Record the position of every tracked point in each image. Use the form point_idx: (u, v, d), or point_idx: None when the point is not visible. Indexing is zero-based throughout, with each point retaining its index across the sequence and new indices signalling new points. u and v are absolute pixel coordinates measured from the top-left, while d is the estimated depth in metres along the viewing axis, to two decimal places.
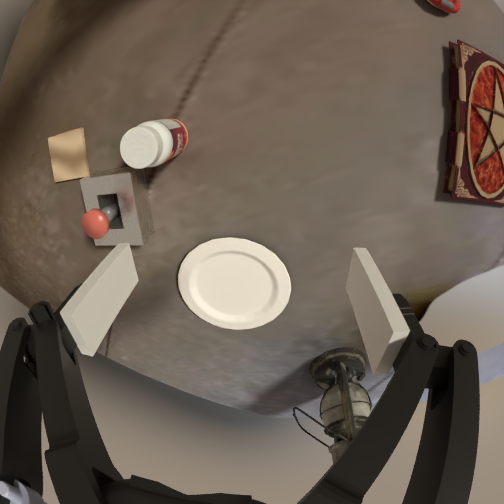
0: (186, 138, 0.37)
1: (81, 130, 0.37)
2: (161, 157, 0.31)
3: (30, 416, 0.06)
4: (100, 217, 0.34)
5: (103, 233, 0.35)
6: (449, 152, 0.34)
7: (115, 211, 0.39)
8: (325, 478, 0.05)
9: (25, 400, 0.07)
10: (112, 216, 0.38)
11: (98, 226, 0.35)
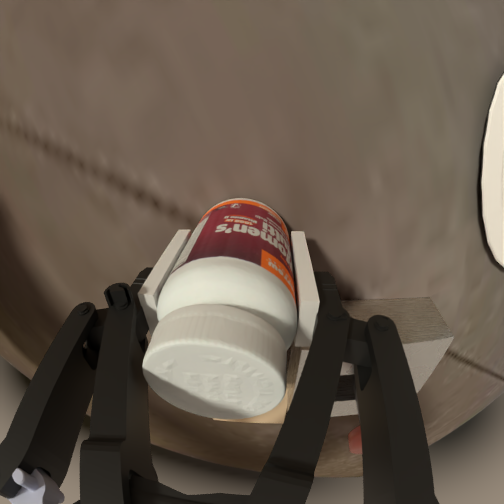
0: (244, 203, 0.16)
1: None
2: (268, 305, 0.10)
3: (74, 408, 0.07)
4: None
5: None
6: None
7: None
8: (268, 462, 0.05)
9: (73, 392, 0.08)
10: None
11: None
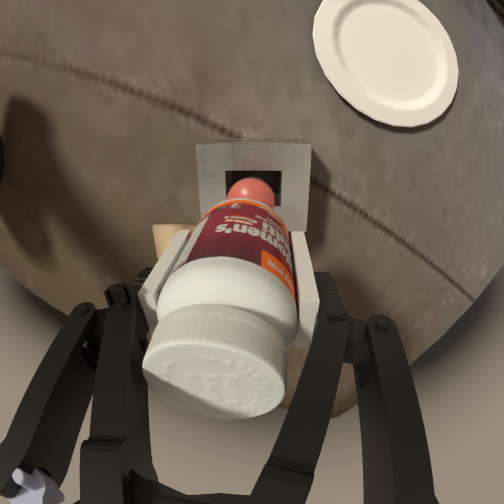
0: (244, 203, 0.16)
1: (155, 226, 0.37)
2: (268, 305, 0.10)
3: (74, 408, 0.07)
4: (236, 186, 0.24)
5: (264, 188, 0.24)
6: None
7: (252, 178, 0.28)
8: (268, 462, 0.05)
9: (73, 392, 0.08)
10: None
11: (252, 194, 0.24)
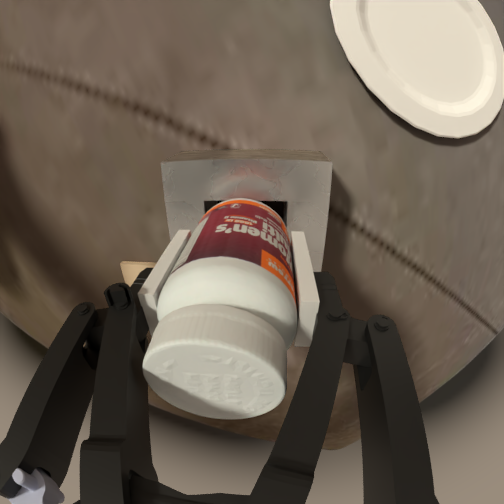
0: (244, 203, 0.16)
1: (124, 264, 0.28)
2: (268, 305, 0.10)
3: (74, 408, 0.07)
4: None
5: None
6: None
7: None
8: (268, 462, 0.05)
9: (73, 392, 0.08)
10: None
11: None
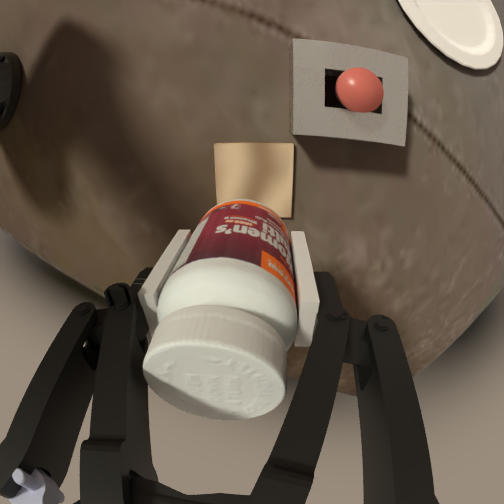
0: (244, 203, 0.16)
1: (218, 144, 0.30)
2: (268, 306, 0.10)
3: (74, 408, 0.07)
4: (349, 70, 0.19)
5: (375, 76, 0.19)
6: None
7: None
8: (268, 462, 0.05)
9: (73, 392, 0.08)
10: None
11: (363, 80, 0.19)
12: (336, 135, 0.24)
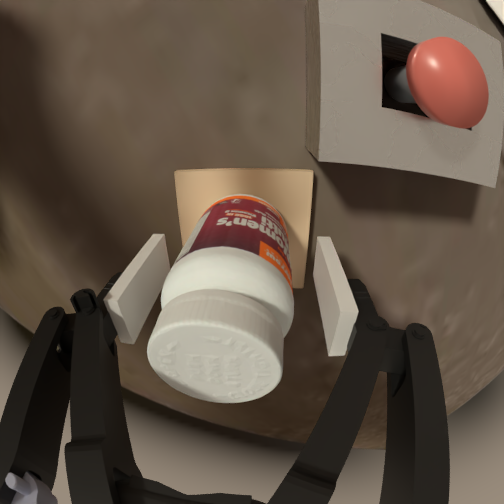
0: (244, 198, 0.16)
1: (182, 172, 0.17)
2: (266, 292, 0.11)
3: (54, 410, 0.07)
4: (435, 40, 0.07)
5: (475, 61, 0.07)
6: None
7: None
8: (293, 467, 0.05)
9: (51, 393, 0.07)
10: None
11: (459, 64, 0.07)
12: (400, 165, 0.12)
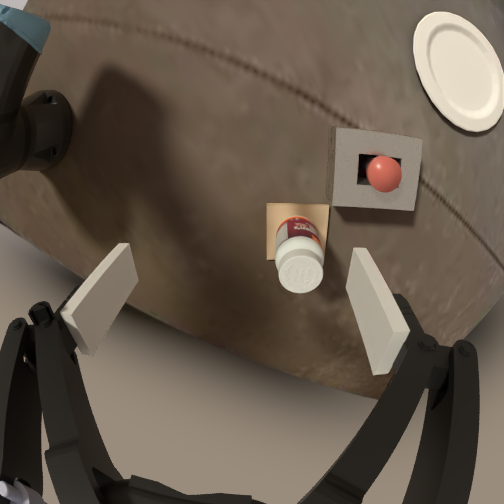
0: (300, 218, 0.38)
1: (270, 204, 0.39)
2: (316, 250, 0.32)
3: (30, 416, 0.06)
4: (378, 160, 0.28)
5: (396, 163, 0.28)
6: None
7: (372, 158, 0.33)
8: (325, 478, 0.05)
9: (25, 400, 0.07)
10: None
11: (388, 167, 0.29)
12: (363, 206, 0.33)
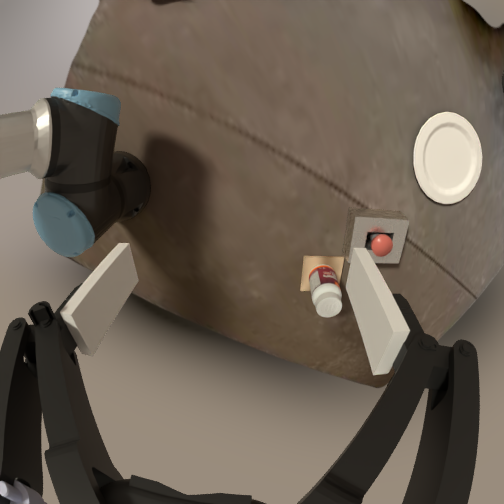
0: (325, 266, 0.58)
1: (306, 257, 0.59)
2: (337, 292, 0.52)
3: (30, 416, 0.06)
4: (379, 238, 0.48)
5: (390, 240, 0.48)
6: None
7: None
8: (325, 478, 0.05)
9: (25, 400, 0.07)
10: (378, 232, 0.52)
11: (384, 242, 0.48)
12: None
